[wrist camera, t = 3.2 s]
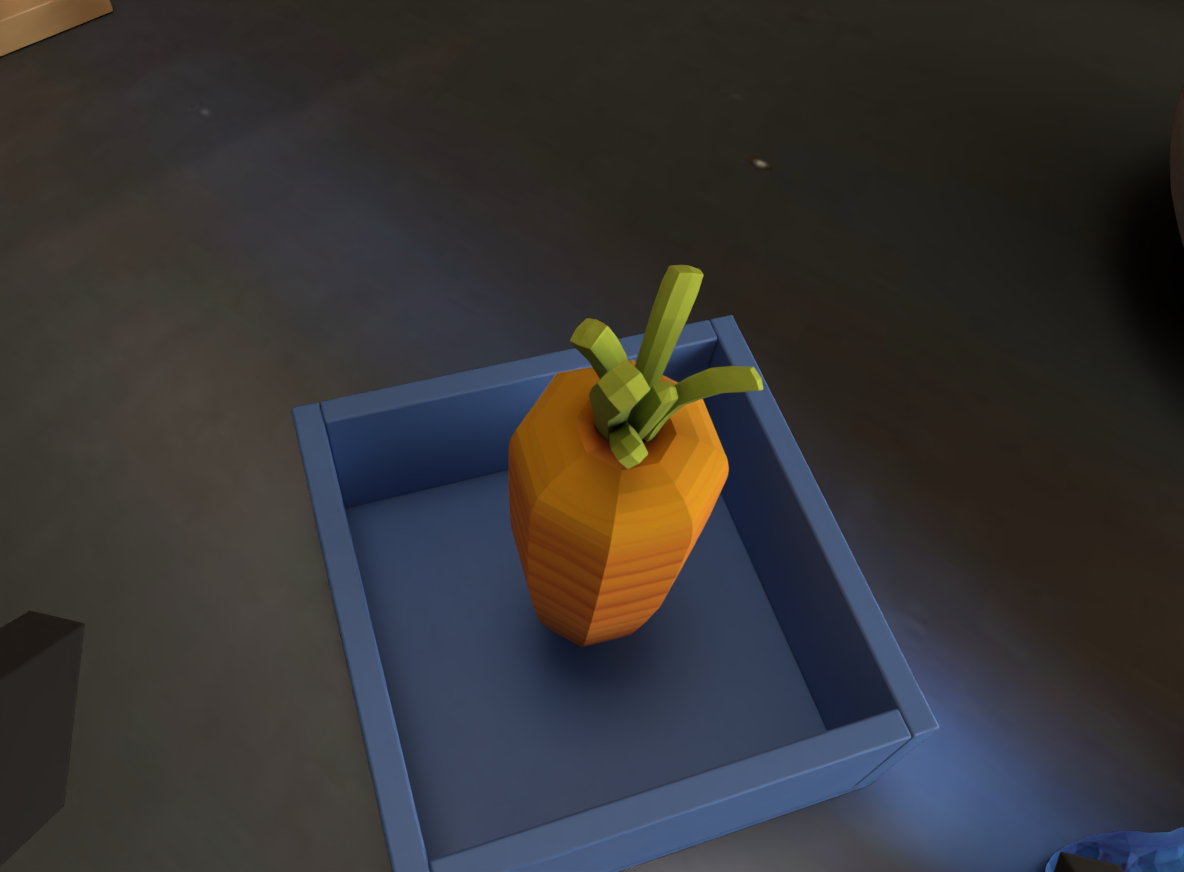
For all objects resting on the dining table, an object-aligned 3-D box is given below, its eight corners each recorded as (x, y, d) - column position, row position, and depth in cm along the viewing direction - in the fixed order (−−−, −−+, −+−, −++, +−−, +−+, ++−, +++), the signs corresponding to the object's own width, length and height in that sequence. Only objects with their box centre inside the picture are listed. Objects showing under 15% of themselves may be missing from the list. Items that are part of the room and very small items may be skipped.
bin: (413, 942, 27) (400, 909, 23) (316, 503, 34) (290, 406, 29) (870, 785, 31) (941, 727, 26) (700, 413, 37) (732, 313, 33)
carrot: (593, 527, 34) (663, 185, 21) (694, 645, 32) (838, 346, 19) (466, 613, 32) (460, 291, 19) (566, 744, 30) (633, 483, 17)
